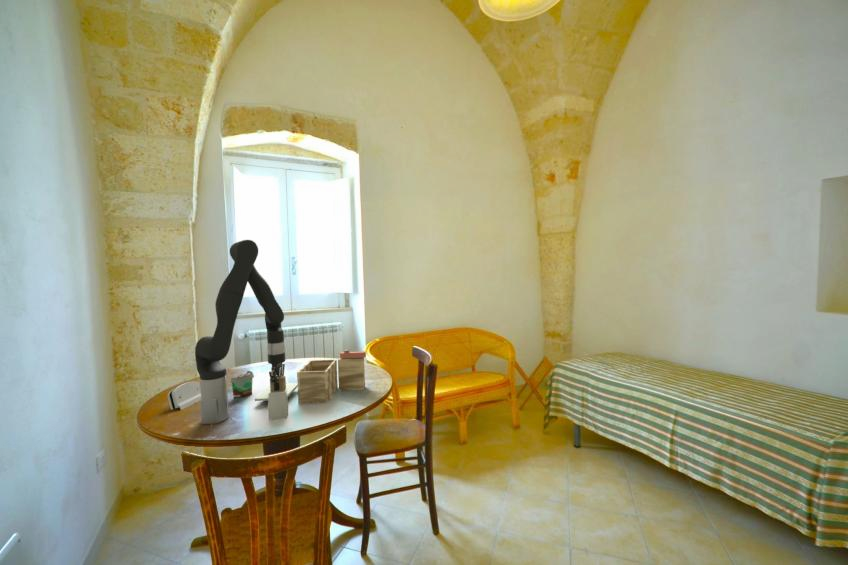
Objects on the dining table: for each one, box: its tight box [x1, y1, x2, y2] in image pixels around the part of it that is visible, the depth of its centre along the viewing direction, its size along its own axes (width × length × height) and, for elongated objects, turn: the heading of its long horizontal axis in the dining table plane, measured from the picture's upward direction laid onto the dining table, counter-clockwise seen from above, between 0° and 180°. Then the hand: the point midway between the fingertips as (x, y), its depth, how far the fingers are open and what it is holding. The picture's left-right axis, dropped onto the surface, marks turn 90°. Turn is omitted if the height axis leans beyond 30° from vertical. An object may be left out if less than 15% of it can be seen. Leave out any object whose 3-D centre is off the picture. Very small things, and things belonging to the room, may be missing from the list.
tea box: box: [267, 392, 290, 421], centre depth 151 cm, size 4×7×10 cm, turn 97°
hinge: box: [167, 380, 201, 411], centre depth 170 cm, size 17×5×10 cm, turn 172°
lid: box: [254, 375, 298, 402], centre depth 173 cm, size 20×13×8 cm, turn 1°
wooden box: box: [296, 356, 366, 405], centre depth 175 cm, size 20×26×15 cm
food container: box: [230, 370, 255, 400], centre depth 177 cm, size 12×6×10 cm, turn 168°
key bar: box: [339, 349, 367, 359], centre depth 182 cm, size 2×12×4 cm, turn 91°
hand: (278, 388), depth 173 cm, fingers closed on lid, 3 cm apart
